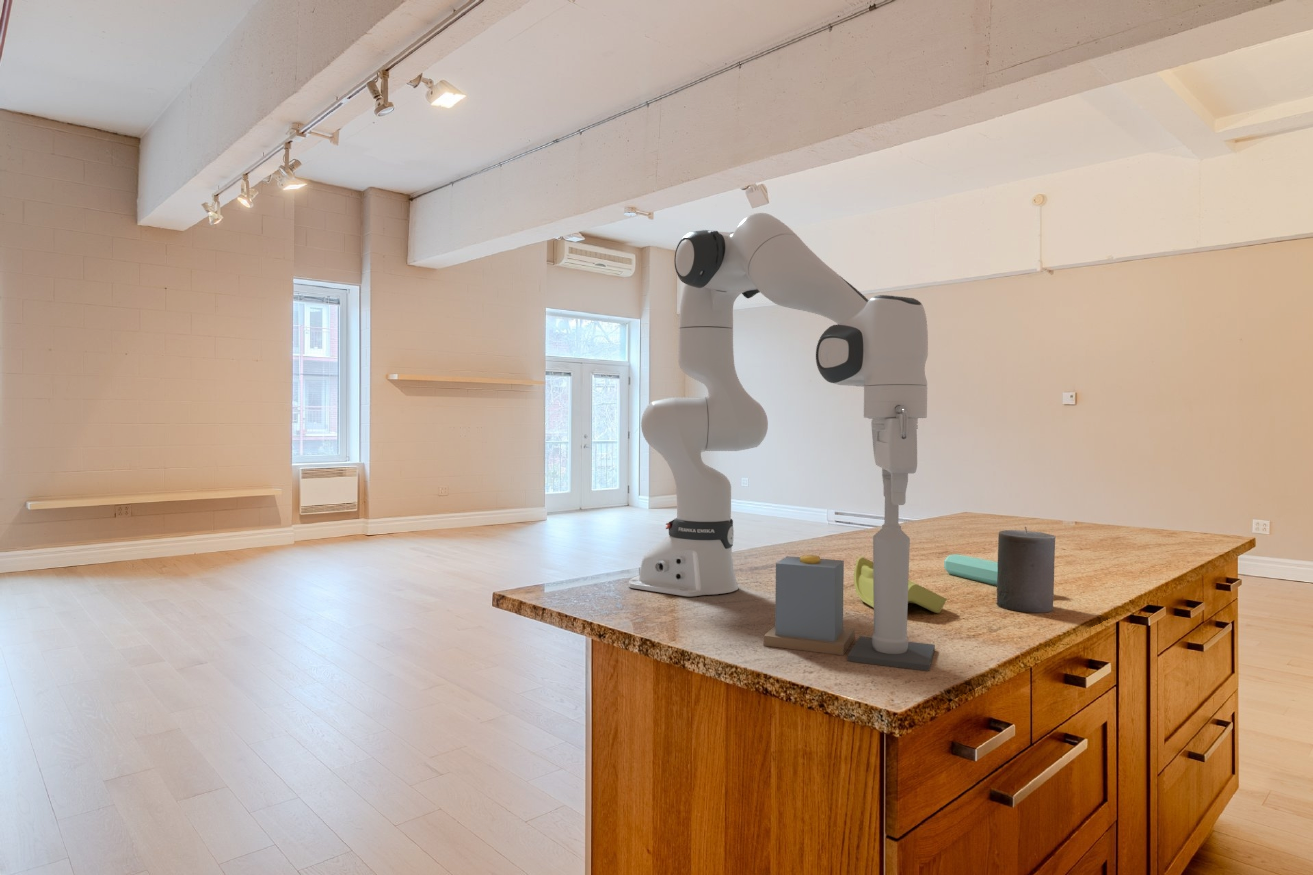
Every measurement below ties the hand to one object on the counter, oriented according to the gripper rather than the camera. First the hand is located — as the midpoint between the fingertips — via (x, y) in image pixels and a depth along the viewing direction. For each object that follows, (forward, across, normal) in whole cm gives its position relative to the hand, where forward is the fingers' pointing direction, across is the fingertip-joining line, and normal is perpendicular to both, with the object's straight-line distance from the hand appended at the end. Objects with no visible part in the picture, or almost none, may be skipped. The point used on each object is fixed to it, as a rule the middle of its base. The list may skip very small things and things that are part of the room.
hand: (893, 501), depth 114 cm
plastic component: (+23, +34, -5) cm, 42 cm away
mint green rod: (+23, +58, -27) cm, 69 cm away
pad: (+23, 0, 0) cm, 23 cm away
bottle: (+22, 0, 0) cm, 22 cm away
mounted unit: (+23, +5, +12) cm, 26 cm away
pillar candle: (+23, +36, -28) cm, 51 cm away
